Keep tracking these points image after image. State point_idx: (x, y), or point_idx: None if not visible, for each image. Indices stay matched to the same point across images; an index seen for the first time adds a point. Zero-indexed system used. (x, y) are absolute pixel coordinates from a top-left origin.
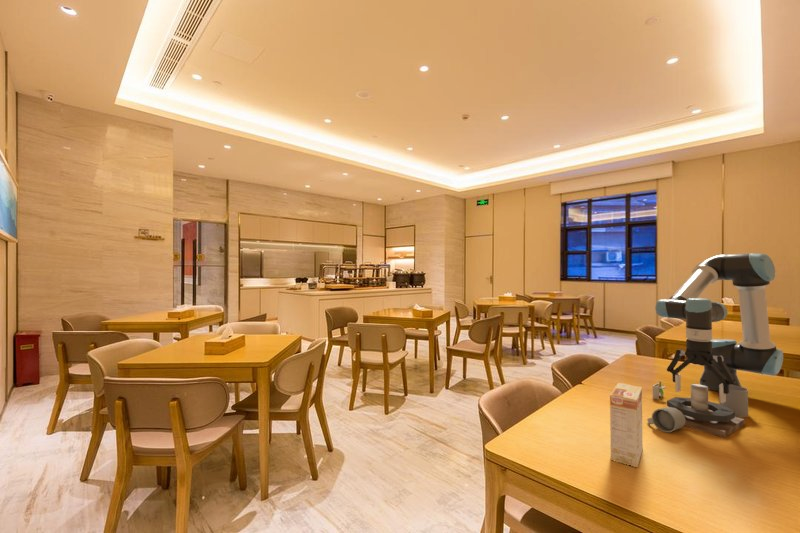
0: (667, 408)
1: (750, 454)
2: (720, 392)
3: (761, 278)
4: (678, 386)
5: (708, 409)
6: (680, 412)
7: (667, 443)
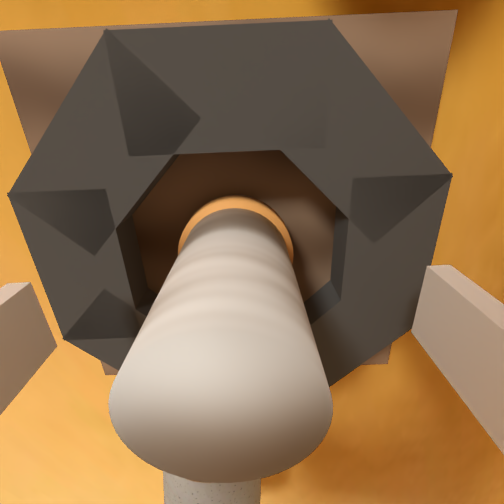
0: None
1: (459, 403)
2: (486, 429)
3: None
4: (8, 380)
5: (279, 221)
6: (244, 482)
7: (269, 497)
